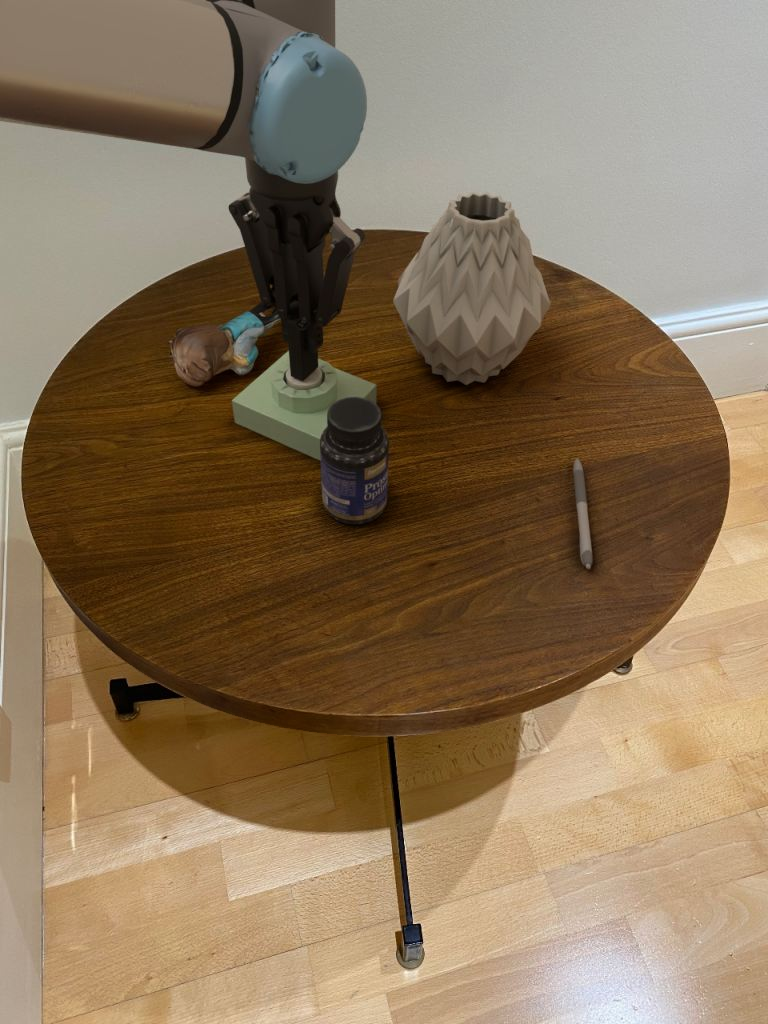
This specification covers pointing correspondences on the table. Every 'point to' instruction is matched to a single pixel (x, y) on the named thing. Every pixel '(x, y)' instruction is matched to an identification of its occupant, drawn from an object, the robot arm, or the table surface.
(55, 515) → the table surface
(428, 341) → the vase
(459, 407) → the table surface
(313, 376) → the cylinder peg
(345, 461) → the pill bottle
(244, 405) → the green base with collar
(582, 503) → the pen
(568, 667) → the table surface
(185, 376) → the figurine
